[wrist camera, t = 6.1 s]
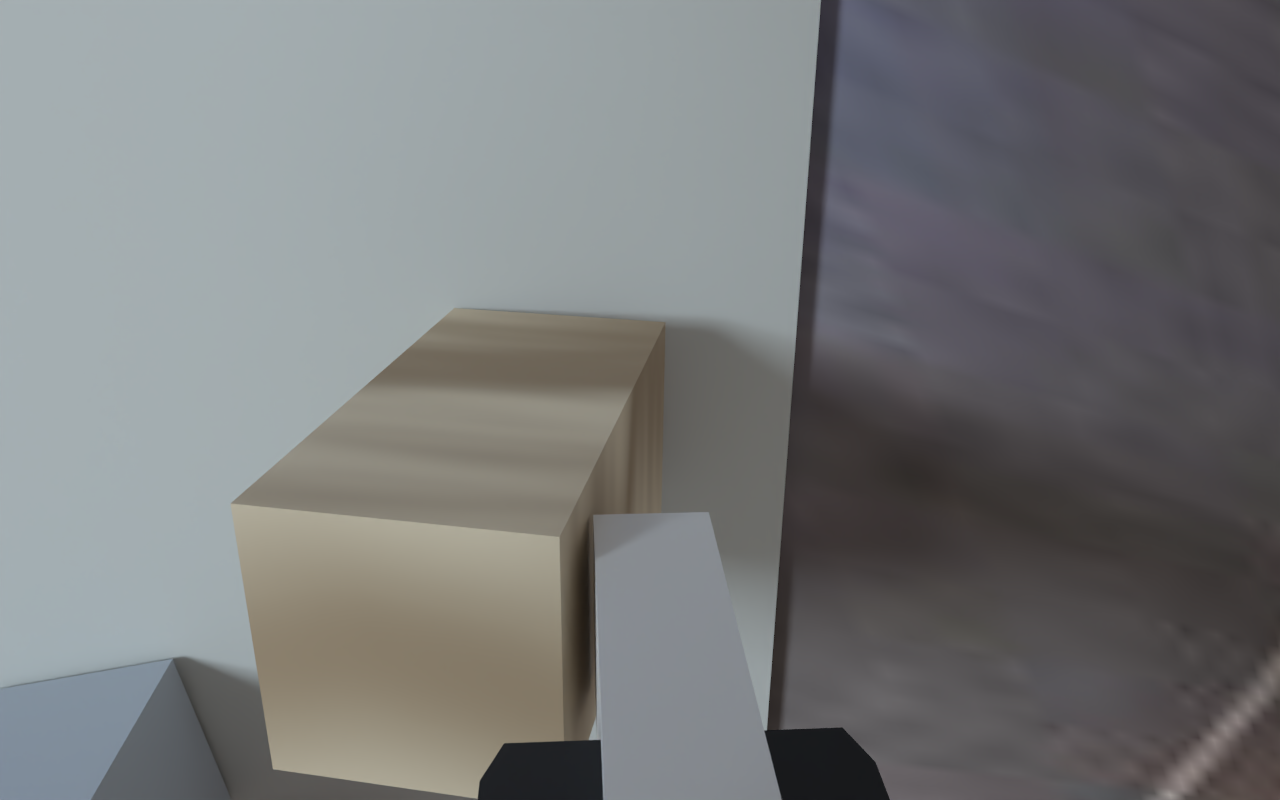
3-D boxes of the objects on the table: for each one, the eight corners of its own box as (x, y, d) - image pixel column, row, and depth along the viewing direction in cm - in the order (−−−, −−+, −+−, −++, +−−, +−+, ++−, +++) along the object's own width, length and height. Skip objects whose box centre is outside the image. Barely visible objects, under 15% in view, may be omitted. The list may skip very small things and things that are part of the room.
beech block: (457, 304, 19) (230, 503, 12) (667, 319, 19) (559, 536, 12) (468, 492, 21) (272, 769, 14) (662, 511, 20) (565, 811, 13)
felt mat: (-341, -51, 17) (-361, -52, 16) (818, -36, 18) (823, -36, 17) (-51, 838, 24) (-60, 852, 24) (757, 808, 25) (760, 821, 25)
